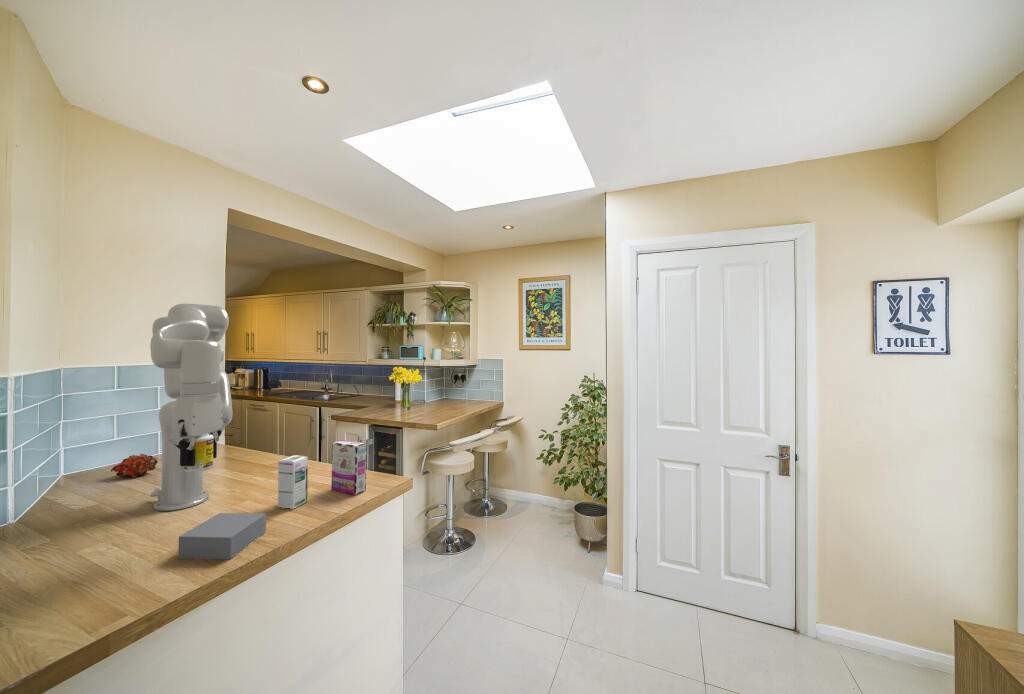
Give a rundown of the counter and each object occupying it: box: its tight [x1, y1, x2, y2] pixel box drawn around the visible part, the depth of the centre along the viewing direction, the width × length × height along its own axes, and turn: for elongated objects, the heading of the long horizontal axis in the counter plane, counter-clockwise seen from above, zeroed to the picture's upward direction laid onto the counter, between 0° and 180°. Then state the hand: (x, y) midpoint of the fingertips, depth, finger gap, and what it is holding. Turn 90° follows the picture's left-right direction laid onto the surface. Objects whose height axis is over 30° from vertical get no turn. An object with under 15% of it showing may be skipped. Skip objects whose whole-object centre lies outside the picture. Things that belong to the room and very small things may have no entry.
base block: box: [177, 512, 267, 560], centre depth 90 cm, size 12×12×5 cm
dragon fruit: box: [110, 453, 159, 479], centre depth 134 cm, size 8×8×12 cm
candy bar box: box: [330, 439, 368, 496], centre depth 125 cm, size 11×5×16 cm, turn 68°
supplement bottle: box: [184, 433, 214, 472], centre depth 92 cm, size 6×6×10 cm
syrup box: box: [277, 454, 309, 510], centre depth 113 cm, size 6×6×14 cm
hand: (198, 461), depth 91 cm, fingers closed on supplement bottle, 5 cm apart
